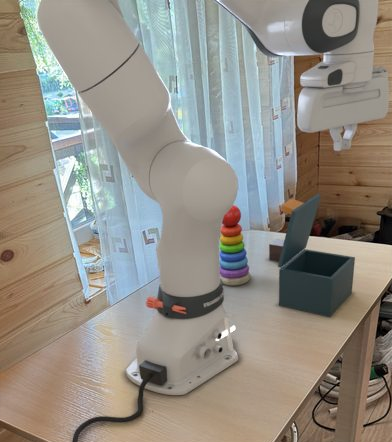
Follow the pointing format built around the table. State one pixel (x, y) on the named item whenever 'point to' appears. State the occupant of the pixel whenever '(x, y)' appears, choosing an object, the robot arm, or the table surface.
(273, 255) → the block
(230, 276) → the stacking toy
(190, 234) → the robot arm
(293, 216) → the lid
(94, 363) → the table surface
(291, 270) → the dark teal box
